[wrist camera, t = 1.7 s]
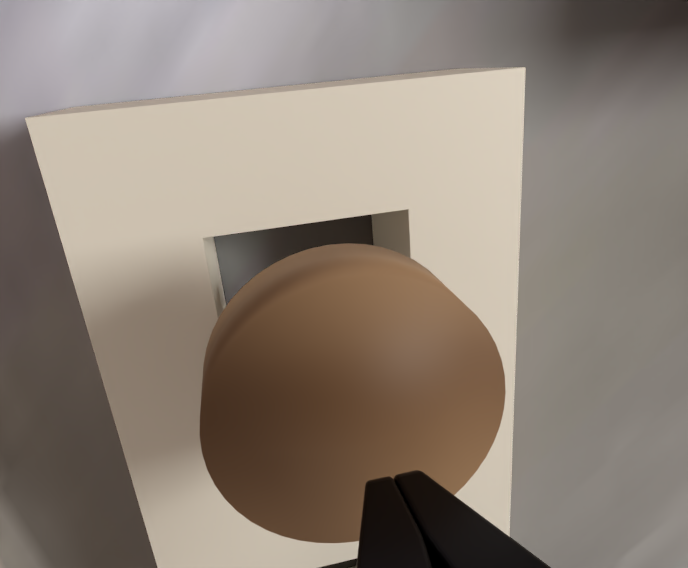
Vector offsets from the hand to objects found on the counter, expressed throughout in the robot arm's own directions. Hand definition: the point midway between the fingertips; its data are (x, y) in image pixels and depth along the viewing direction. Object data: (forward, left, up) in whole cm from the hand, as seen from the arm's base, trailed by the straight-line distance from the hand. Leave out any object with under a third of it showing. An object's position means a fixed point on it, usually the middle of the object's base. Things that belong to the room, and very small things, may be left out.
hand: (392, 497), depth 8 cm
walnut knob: (0, 0, -7) cm, 7 cm away
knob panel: (-5, 0, -10) cm, 12 cm away
